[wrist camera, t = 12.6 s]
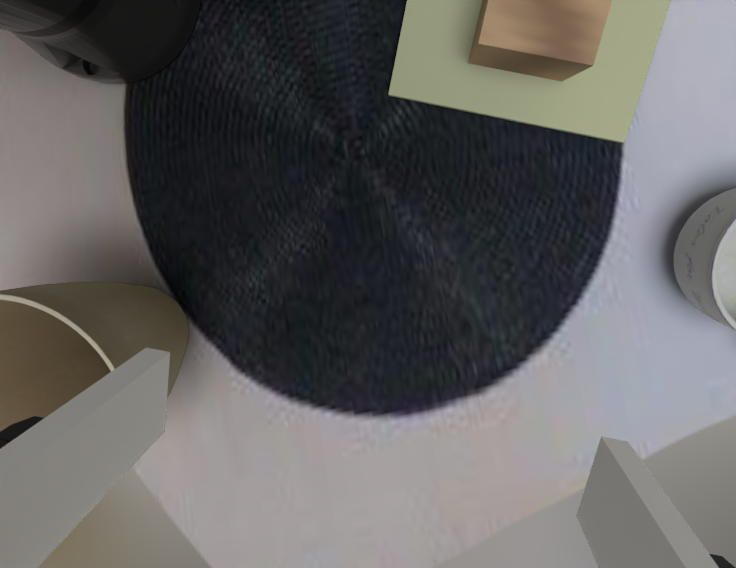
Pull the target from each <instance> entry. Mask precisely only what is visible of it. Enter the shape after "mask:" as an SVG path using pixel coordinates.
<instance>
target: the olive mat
mask: <svg viewBox="0 0 736 568" xmlns="http://www.w3.org/2000/svg"><path fill="white" fill-rule="evenodd" d="M670 1H671V0H612V3H611V6H610V10H609V13H608V17H607V20H606V24H605V27H604V31H603V34H602V38H601V41H600V44H599V48H598V51H597V55H596V58H595V62H594V65H593V66H592V67H590V68H588V69H586V70H584V71H582V72H580V73H578V74H576V75H574V76H572V77H570V78H568V79H566V80H564V81H557V80H551V79H546V78H541V77H536V76H531V75H525V74H520V73H515V72H510V71H505V70H500V69H494V68H489V67H484V66H479V65H474V64H468V61H469V57H470V52H471V48H472V44H473V39H474V35H475V30H476V26H477V22H478V17H479V13H480V9H481V4H482V0H407V3H406V8H405V14H404V19H403V24H402V29H401V34H400V39H399V44H398V49H397V54H396V59H395V64H394V69H393V74H392V79H391V84H390V89H389V94H388V95H389V96H392V97H397V98H402V99H407V100H412V101H417V102H422V103H427V104H431V105H436V106H441V107H446V108H451V109H456V110H461V111H466V112H471V113H476V114H481V115H485V116H490V117H495V118H500V119H505V120H510V121H515V122H520V123H525V124H530V125H535V126H539V127H544V128H549V129H554V130H559V131H564V132H569V133H574V134H579V135H584V136H589V137H593V138H598V139H603V140H608V141H613V142H618V143H625V141H626V138H627V135H628V132H629V129H630V125H631V122H632V119H633V116H634V113H635V110H636V107H637V104H638V101H639V98H640V94H641V91H642V88H643V85H644V82H645V79H646V76H647V73H648V70H649V67H650V63H651V60H652V57H653V54H654V51H655V48H656V45H657V42H658V39H659V36H660V32H661V29H662V26H663V23H664V20H665V17H666V14H667V11H668V8H669V4H670Z"/></svg>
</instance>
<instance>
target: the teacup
mask: <svg viewBox="0 0 736 568" xmlns="http://www.w3.org/2000/svg"><path fill="white" fill-rule="evenodd" d="M674 271H675V276H676V279H677V282H678V284H679V286H680V288H681V290H682V292H683V293H684V295H685V296H686V298H687V299H688V300H689V301H690V302H691V303H692V304H693V305H694V306H695V307H696V308H698V309H699V310H700V311H702V312H703V313H705V314H706V315H708V316H709V317H711V318H713V319H715V320H716V321H718V322H720V323H722V324H724V325H726V326H728V327H731V328H733V329H735V330H736V188H734V189H731V190H728V191H725V192H723V193H721V194H719V195H717V196H715V197H713V198H711V199H710V200H708V201H707V202H705V203H704V204H703V205H701V206H700V207H699V208H698V209H697V210H696V211H695V212H694V213H693V214H692V215H691V216H690V218H689V219H688V220H687V221H686V223H685V224H684V226H683V228H682V230H681V232H680V234H679V236H678V239H677V241H676V245H675V250H674Z"/></svg>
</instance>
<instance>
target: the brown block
mask: <svg viewBox="0 0 736 568" xmlns="http://www.w3.org/2000/svg"><path fill="white" fill-rule="evenodd" d="M611 3H612V0H482V4H481V9H480V13H479V17H478V22H477V26H476V30H475V35H474V39H473V44H472V48H471V52H470V57H469V61H468V64H474V65H479V66H484V67H489V68H494V69H500V70H505V71H510V72H515V73H520V74H525V75H531V76H536V77H541V78H546V79H551V80H557V81H564V80H566V79H568V78H570V77H572V76H574V75H576V74H578V73H580V72H582V71H584V70H586V69H588V68H590V67H592V66H593V65H594V62H595V58H596V55H597V51H598V48H599V44H600V41H601V38H602V34H603V31H604V27H605V24H606V20H607V17H608V13H609V10H610V6H611Z"/></svg>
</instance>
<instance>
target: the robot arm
mask: <svg viewBox="0 0 736 568" xmlns="http://www.w3.org/2000/svg"><path fill="white" fill-rule="evenodd" d="M200 3H201V0H0V29H4V30H8V31H11V32H12V33H14V34H15V35H16V36H17V37H19V38H20V39H21V40H22V41H24V42H25V43H26V44H27V45H29V46H30V47H31V48H32V49H34V50H35V51H36V52H37V53H39V54H40V55H41V56H42V57H44V58H45V59H46V60H48V61H49V62H50V63H52V64H54V65H55V66H57V67H59V68H61V69H63V70H65V71H67V72H69V73H71V74H74V75H77V76H80V77H83V78H87V79H92V80H96V81H100V82H106V83H130V82H135V81H139V80H142V79H145V78H148V77H150V76H152V75H154V74H156V73H158V72H159V71H161V70H162V69H164V68H165V67H166V66H167V65H169V64H170V63H171V62H172V61H173V60H174V59H175V58H176V57H177V56H178V54H179V53H180V52H181V51H182V49H183V48H184V46H185V45H186V43H187V41H188V40H189V38H190V36H191V34H192V31H193V29H194V26H195V24H196V21H197V17H198V13H199V9H200ZM169 362H170V352H167V351H162V350H157V349H152V348H145V349H143V350H142V351H140V352H139V353H138V354H136V355H135V356H133V357H132V358H130V359H129V360H128V361H126V362H125V363H123V364H122V365H120V366H119V367H117V368H116V369H115V370H113V371H112V372H110V373H109V374H107V375H106V376H104V377H103V378H102V379H100V380H99V381H97V382H96V383H94V384H93V385H92V386H90V387H89V388H87V389H86V390H84V391H83V392H81V393H80V394H79V395H77V396H76V397H74V398H73V399H71V400H70V401H68V402H67V403H66V404H64V405H63V406H61V407H60V408H58V409H57V410H56V411H54V412H53V413H51V414H50V415H48V416H47V417H45V418H42V417H37V416H33V417H30V418H28V419H25V420H22V421H20V422H17V423H14V424H12V425H10V426H8V427H7V428H5V429H4V430H2V431H1V432H0V568H38V567H39V566H40V564H41V563H42V562H43V561H44V560H45V559H46V558H47V557H48V556H49V555H50V554H51V553H52V552H53V551H54V549H55V548H56V547H57V546H58V545H59V544H60V543H61V542H62V541H63V540H64V539H65V538H66V536H67V535H68V534H69V533H70V532H71V531H72V530H73V529H74V528H75V527H76V526H77V525H78V524H79V523H80V522H81V520H82V519H83V518H84V517H85V516H86V515H87V514H88V513H89V512H90V511H91V510H92V509H93V508H94V507H95V506H96V504H97V503H98V502H99V501H100V500H101V499H102V498H103V497H104V496H105V495H106V494H107V493H108V491H110V489H111V488H112V487H113V486H114V485H115V484H116V483H117V482H118V481H119V480H120V479H121V477H122V476H123V475H124V474H125V473H126V472H127V471H128V470H129V469H130V468H131V467H132V466H133V465H134V464H135V463H136V462H137V461H138V459H139V458H140V457H141V456H142V455H143V454H144V453H145V452H146V451H147V450H148V449H149V448H150V447H151V446H152V444H153V443H154V442H155V441H156V440H157V439H158V438H159V437H160V436H161V435H162V434H163V433H164V432H165V422H166V407H167V392H168V377H169ZM577 518H578V520H579V523H580V525H581V527H582V530H583V532H584V534H585V537H586V539H587V541H588V544H589V546H590V548H591V551H592V553H593V555H594V557H595V560H596V562H597V564H598V567H599V568H735V567H734V566H733V565H731V564H730V563H729V562H728V561H727V560H725V559H724V558H723V557H722V556H717V555H713V554H709V553H708V552H707V550H706V549H705V548H704V546H703V545H702V544H701V542H700V541H699V539H698V538H697V537H696V535H695V534H694V532H693V531H692V530H691V528H690V527H689V526H688V524H687V523H686V521H685V520H684V519H683V517H682V516H681V514H680V513H679V512H678V510H677V509H676V508H675V506H674V505H673V503H672V502H671V501H670V499H669V498H668V497H667V495H666V494H665V492H664V491H663V490H662V488H661V487H660V485H659V484H658V483H657V481H656V480H655V479H654V477H653V476H652V475H651V473H650V472H649V470H648V469H647V468H646V466H645V465H644V464H643V462H642V461H641V459H640V458H639V456H638V455H637V454H636V452H635V451H634V449H633V448H632V447H631V445H630V444H629V443H628V442H627V441H621V440H616V439H611V438H606V437H601V439H600V443H599V446H598V449H597V452H596V455H595V458H594V462H593V465H592V468H591V471H590V474H589V478H588V481H587V484H586V487H585V490H584V494H583V497H582V500H581V503H580V506H579V509H578V513H577Z"/></svg>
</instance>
